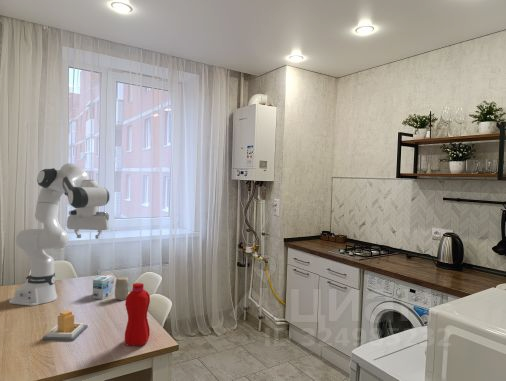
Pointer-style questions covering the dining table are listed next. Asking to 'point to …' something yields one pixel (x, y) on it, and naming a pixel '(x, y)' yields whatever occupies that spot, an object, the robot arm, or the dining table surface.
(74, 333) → the base
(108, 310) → the dining table surface
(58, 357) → the dining table surface
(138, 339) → the water bottle
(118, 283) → the carving
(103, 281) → the light bulb box
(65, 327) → the stepped orange block
